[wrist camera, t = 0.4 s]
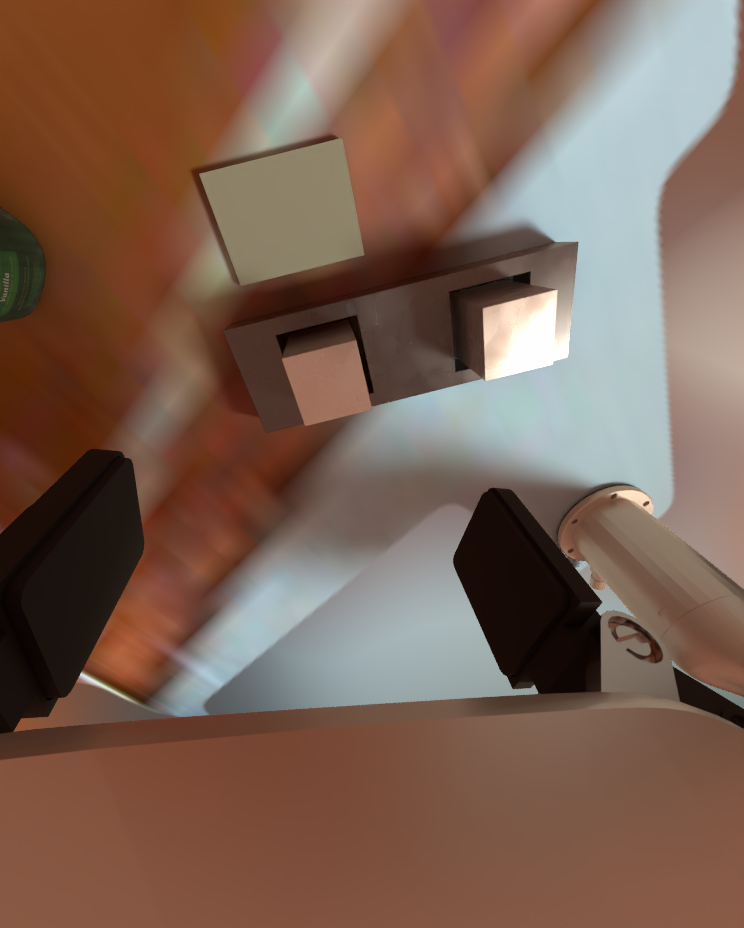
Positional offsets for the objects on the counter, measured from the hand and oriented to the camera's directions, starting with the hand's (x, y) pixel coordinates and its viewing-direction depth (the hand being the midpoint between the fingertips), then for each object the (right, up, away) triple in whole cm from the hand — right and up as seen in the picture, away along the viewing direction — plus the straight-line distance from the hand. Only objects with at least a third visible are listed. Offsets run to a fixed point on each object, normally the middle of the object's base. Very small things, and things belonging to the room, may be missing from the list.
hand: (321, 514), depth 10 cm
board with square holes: (+4, +13, +22) cm, 26 cm away
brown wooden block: (+11, +15, +22) cm, 29 cm away
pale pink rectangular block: (-3, +11, +22) cm, 25 cm away
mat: (-5, +20, +17) cm, 26 cm away
